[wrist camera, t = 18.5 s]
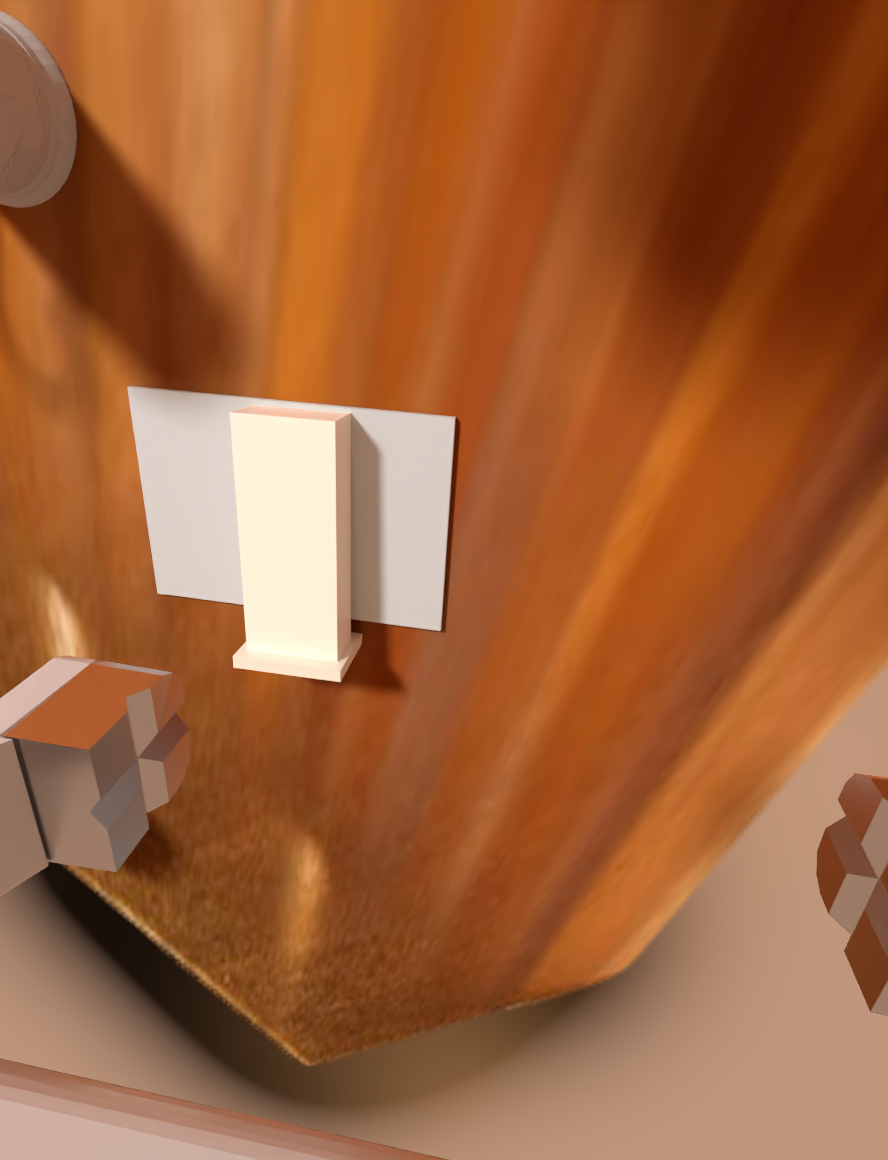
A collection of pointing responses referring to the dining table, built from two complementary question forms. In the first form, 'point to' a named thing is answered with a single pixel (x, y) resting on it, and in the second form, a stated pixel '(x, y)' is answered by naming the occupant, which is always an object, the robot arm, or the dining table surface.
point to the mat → (378, 502)
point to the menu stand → (294, 540)
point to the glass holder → (32, 119)
